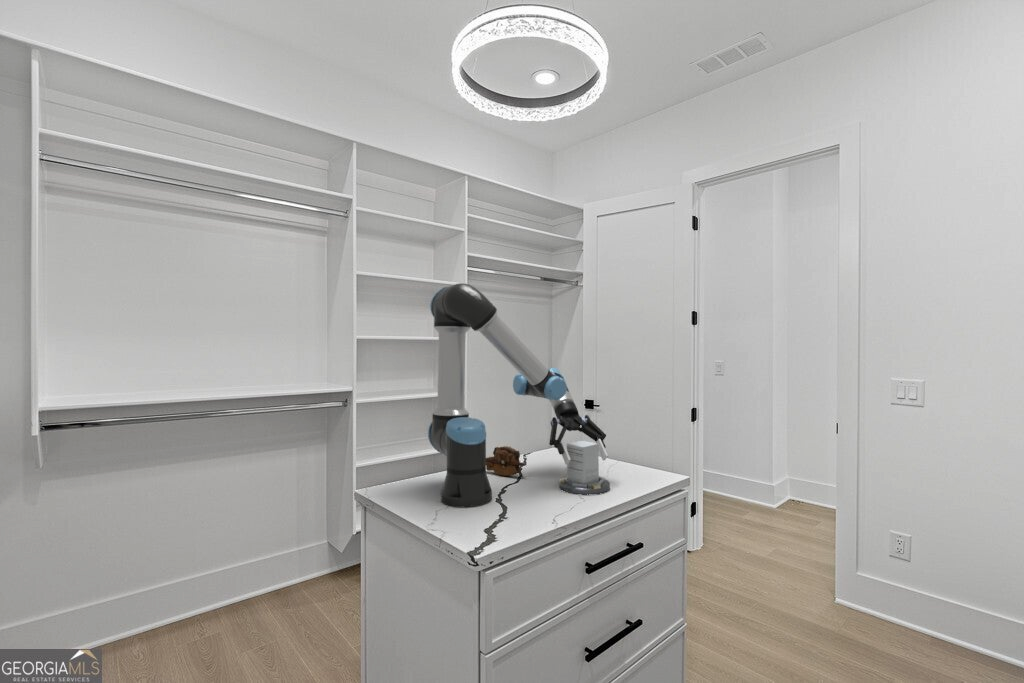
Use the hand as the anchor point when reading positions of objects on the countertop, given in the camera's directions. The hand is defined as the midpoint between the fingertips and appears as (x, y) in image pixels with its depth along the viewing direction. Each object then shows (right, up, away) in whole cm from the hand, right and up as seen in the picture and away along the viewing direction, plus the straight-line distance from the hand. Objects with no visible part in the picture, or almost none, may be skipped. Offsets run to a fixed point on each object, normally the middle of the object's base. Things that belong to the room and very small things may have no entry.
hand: (587, 460), depth 158 cm
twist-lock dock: (-1, -9, +1) cm, 9 cm away
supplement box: (-1, -8, +1) cm, 8 cm away
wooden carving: (-27, -9, +17) cm, 33 cm away
